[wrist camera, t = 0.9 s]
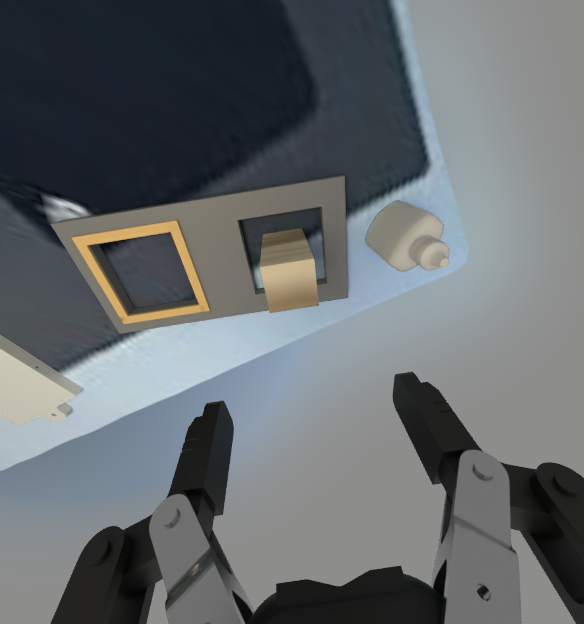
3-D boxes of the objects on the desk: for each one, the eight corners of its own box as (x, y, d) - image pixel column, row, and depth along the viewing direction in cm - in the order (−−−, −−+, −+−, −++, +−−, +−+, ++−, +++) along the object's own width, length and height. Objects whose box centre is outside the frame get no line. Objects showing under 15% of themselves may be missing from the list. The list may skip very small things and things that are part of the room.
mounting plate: (98, 395, 41) (91, 405, 40) (44, 423, 44) (35, 433, 43) (-24, 316, 33) (-39, 324, 31) (-82, 357, 35) (-99, 367, 34)
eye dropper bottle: (413, 229, 30) (485, 268, 20) (369, 252, 31) (416, 300, 21) (403, 194, 28) (478, 218, 18) (356, 220, 29) (402, 257, 19)
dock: (60, 220, 27) (47, 225, 25) (341, 174, 27) (345, 176, 25) (125, 327, 35) (118, 335, 33) (344, 292, 34) (348, 299, 32)
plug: (262, 234, 29) (259, 267, 21) (301, 227, 29) (314, 258, 21) (270, 270, 32) (269, 312, 23) (305, 264, 32) (318, 305, 23)
